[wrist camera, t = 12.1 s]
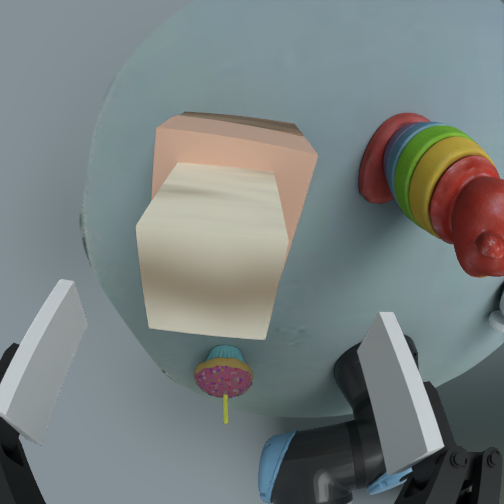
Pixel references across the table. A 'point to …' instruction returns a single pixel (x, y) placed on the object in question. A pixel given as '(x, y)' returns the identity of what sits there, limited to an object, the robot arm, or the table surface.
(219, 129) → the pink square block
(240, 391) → the cupcake
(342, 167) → the table surface
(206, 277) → the birch block
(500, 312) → the spread jar
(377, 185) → the stacking bear
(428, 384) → the robot arm
